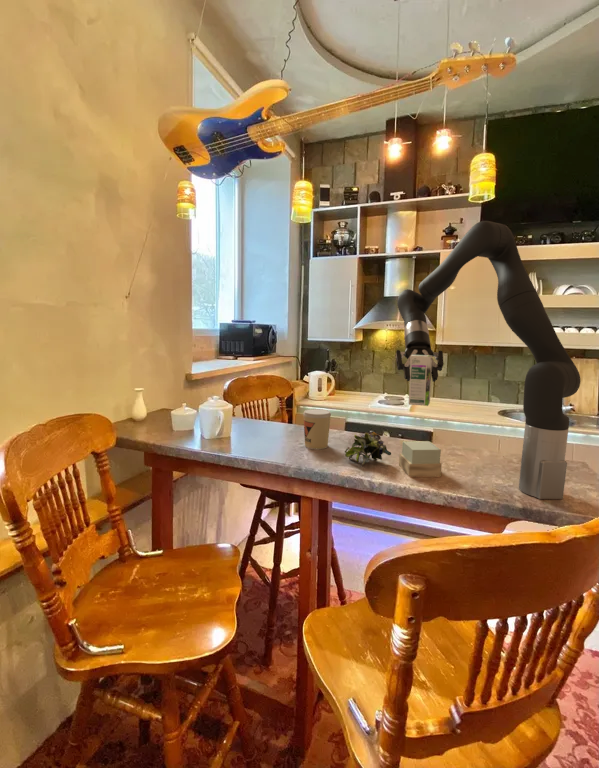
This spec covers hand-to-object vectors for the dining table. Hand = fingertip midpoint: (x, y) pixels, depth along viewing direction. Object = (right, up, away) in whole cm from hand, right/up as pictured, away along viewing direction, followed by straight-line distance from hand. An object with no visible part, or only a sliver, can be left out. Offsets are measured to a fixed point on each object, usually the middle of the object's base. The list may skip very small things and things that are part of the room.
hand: (421, 379), depth 118 cm
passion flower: (-15, -25, +5) cm, 30 cm away
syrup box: (0, -7, +3) cm, 8 cm away
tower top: (-1, -23, -2) cm, 23 cm away
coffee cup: (-30, -23, +21) cm, 43 cm away
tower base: (-1, -27, -1) cm, 27 cm away
